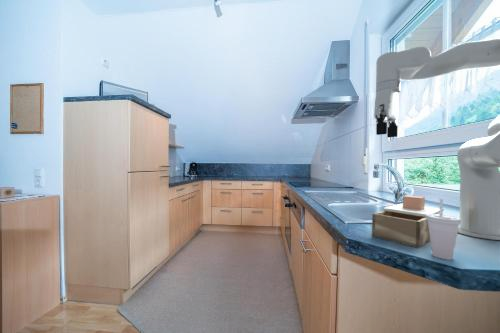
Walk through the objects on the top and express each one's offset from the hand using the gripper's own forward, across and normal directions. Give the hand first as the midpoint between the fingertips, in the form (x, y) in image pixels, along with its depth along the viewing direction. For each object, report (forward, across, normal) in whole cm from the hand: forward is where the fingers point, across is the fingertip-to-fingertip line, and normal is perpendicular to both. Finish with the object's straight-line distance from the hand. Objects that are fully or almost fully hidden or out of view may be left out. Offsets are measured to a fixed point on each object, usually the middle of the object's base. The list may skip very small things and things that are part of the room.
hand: (387, 135), depth 78 cm
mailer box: (+33, +8, +8) cm, 35 cm away
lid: (+26, -1, +8) cm, 27 cm away
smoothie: (+34, +18, +19) cm, 43 cm away
